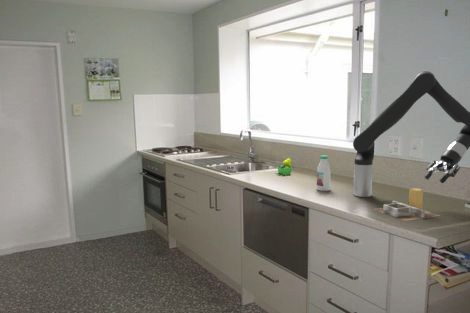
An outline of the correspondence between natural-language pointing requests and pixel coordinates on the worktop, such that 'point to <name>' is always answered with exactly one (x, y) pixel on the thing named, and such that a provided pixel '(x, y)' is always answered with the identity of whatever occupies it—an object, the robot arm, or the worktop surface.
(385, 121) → the robot arm
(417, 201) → the block
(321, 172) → the milk bottle
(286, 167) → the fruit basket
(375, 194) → the worktop surface
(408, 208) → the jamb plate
